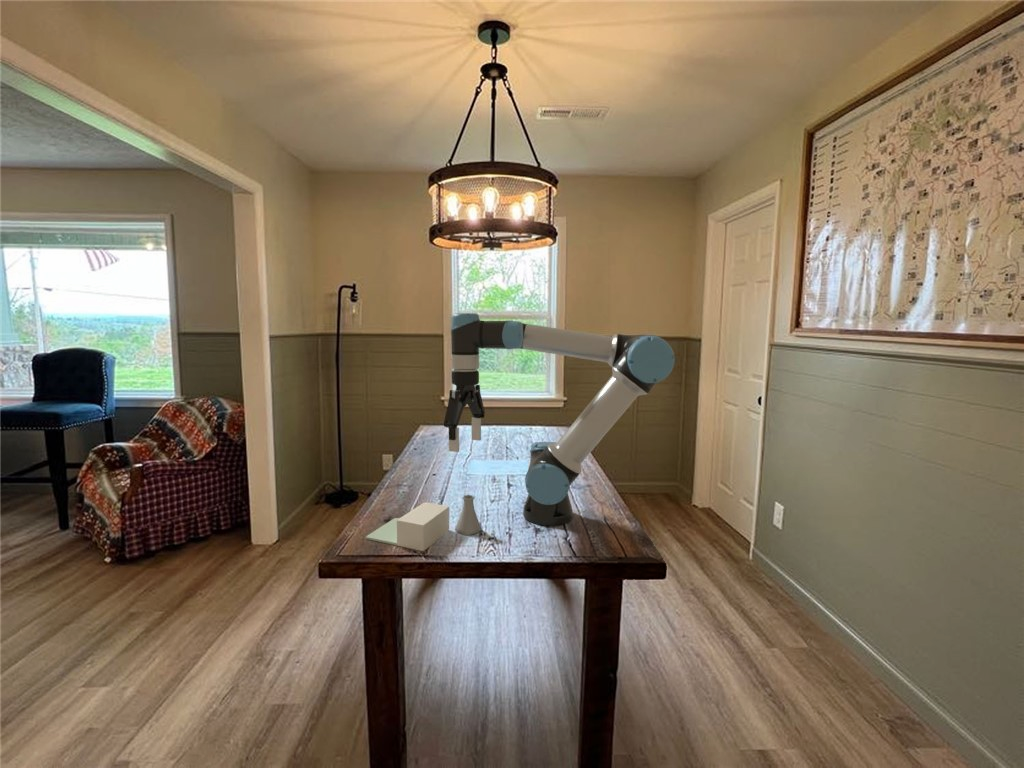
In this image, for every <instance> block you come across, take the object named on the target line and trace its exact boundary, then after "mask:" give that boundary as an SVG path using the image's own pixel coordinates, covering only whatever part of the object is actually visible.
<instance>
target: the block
mask: <svg viewBox="0 0 1024 768" xmlns="http://www.w3.org/2000/svg"><path fill="white" fill-rule="evenodd" d="M398 518H399V519H398V520H397V545H396V546H398V547H402V548H406V549H410V550H416V551H420V552H424V551H425V550H427V549H428V548H429V547H430V546H432V545H433V544H434V543H435V542H437V541H438V540H439V539H440V538H441V537H442V536H444V535H445V534H446V533H448V532H449V531H450V506H449V505H444V504H437V503H433V502H426V501H425V502H423V503H421V504H419V505H418V506H417V507H415V508H414V509H412V510H409V512H407V513H406V514H404V515H403V516H401V517H398Z"/></svg>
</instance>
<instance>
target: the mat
mask: <svg viewBox="0 0 1024 768" xmlns="http://www.w3.org/2000/svg"><path fill="white" fill-rule="evenodd" d="M399 518H400V517H395V518H392V519H391V520H389V521H388V522H387V523H385V524H383V525H382V526H380V527H378V528H377V529H375V530H374V531H372V532H371V533H369V534H368V535H366V536H365V540H370V541H373V542H374V541H375V542H379V543H383V544H387V545H392V546H397V520H398V519H399Z"/></svg>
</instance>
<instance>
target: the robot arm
mask: <svg viewBox="0 0 1024 768" xmlns="http://www.w3.org/2000/svg"><path fill="white" fill-rule="evenodd" d="M450 337H451V358H450V360H451V369H453V370H452V371H451V384H452V385H455V386H456V387H455V389H450V390H449V393H448V394H449V395H448V398H449V399H448V402H447V406H446V411H445V417H444V420H443V427H444V428H448V452H452V453H453V452H454V453H459V452H460V427H458V426H459V422H460V420H461V416H462V414H463V411H464V408H465V407H467V406H468V408H469V411H470V413H471V414H472V417H471V441H478V442H479V441H482V419H483V418H484V419H485V413H486V412H485V407H484V403H483V399H482V395H481V385H480V384H479V383H480V371H479V370H478V369H480V349H493V350H497V349H499V350H500V349H502V350H504V349H505V350H515V349H516V350H517V349H521V350H525V351H532V352H540V353H545V354H553V355H559V356H565V357H572V358H576V359H583V360H591V361H597V362H602V363H606V364H608V365H609V367H611V370H612V375H611V376H610V378H609V379H608V380H607V382H605V384H604V385H603V386H602V387H601V389H599V391H598V392H597V394H595V396H594V397H593V398H592V399H591V401H590V402H589V403H588V404H587V405H586V406H585V408H584V409H583V411H582V412H581V413H580V414H579V415H578V416H577V418H576V419H575V420H574V421H573V423H572V424H571V425H570V426H569V427H568V429H567V430H566V431H565V432H564V434H563V435H562V436H561V437H560V438H559V440H558V441H557V442H555V441H537V442H535V441H534V442H533V443H532V444H531V445H530V451H529V452H530V462H529V464H528V465H529V466H528V469H527V471H526V474H525V477H524V478H525V479H524V483H525V489H526V492H527V496H526V500H525V503H524V505H523V517H524V519H525V520H527V521H528V522H529V523H533V524H535V525H541V526H548V527H549V526H551V527H552V526H561V525H565V524H568V523H570V522H571V521H572V520H573V514H574V513H573V506H572V503H571V499H570V496H569V492H570V491H569V490H570V486H571V485H572V484H573V483H574V482H575V480H576V479H577V478H578V477H579V475H581V473H582V463H583V462H584V460H586V458H587V457H588V456H589V455H590V453H591V452H592V451H593V450H594V449H595V448H596V447H597V446H598V444H599V443H600V442H601V441H602V440H603V439H604V437H605V435H606V434H607V433H608V432H609V431H610V430H611V429H612V428H613V426H615V424H616V423H617V422H618V420H619V419H621V417H622V416H623V414H624V413H625V412H627V409H628V408H630V406H632V404H633V403H634V401H635V400H636V399H637V398H639V397H640V396H644V395H648V394H649V393H650V391H652V389H653V388H654V387H655V386H656V384H658V383H659V382H661V381H663V380H665V379H666V378H667V377H668V376H669V375H670V374H671V372H672V371H673V369H674V365H675V361H676V359H675V352H674V350H673V348H672V346H671V345H670V344H669V342H667V341H666V340H665V339H663V338H661V336H658V335H656V334H655V335H654V334H636V335H635V334H634V335H633V334H621V333H615V334H613V335H612V336H611V335H604V334H596V333H589V332H584V331H577V330H570V329H562V328H559V327H558V328H556V327H550V326H543V325H538V324H529V323H524V322H521V321H520V320H518V321H516V320H481V319H480V315H479V314H478V313H476V312H475V313H474V312H473V313H470V312H469V313H468V312H466V313H465V312H464V313H463V312H462V313H460V312H457V313H453V314H452V317H451V328H450Z"/></svg>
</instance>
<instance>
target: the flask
mask: <svg viewBox="0 0 1024 768" xmlns="http://www.w3.org/2000/svg"><path fill="white" fill-rule="evenodd" d="M474 499H475V496H474V495H473V494H465V495H463V496H462V500H463V505H462V509H461V512H460V515H459V518H458V520H457V522H456V525H455V528H454V531H455V532H456V533H457V534H459V535H463V536H470V535H475V534H478V533H479V532H480V531H482V526H481V524H480V521H479V519H478V518H479V517H478V516H477V513H476V510H475V505H474Z"/></svg>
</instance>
